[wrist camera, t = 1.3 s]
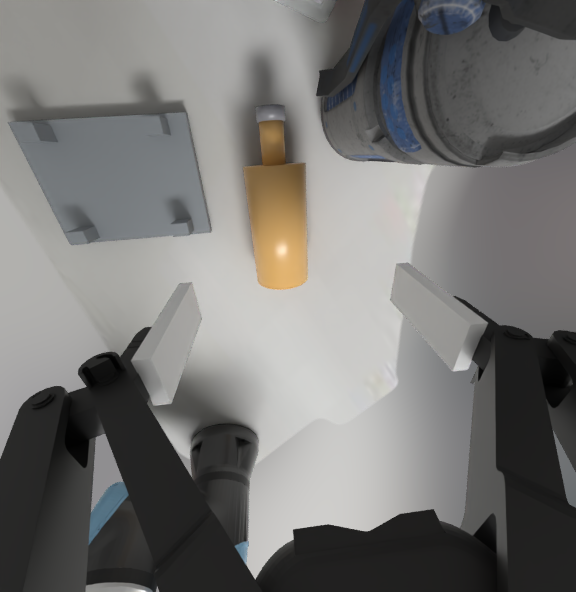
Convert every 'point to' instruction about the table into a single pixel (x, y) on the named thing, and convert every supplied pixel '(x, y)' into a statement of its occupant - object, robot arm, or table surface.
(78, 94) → the table surface
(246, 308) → the table surface
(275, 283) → the amber bottle
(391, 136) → the smoke grenade
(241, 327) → the table surface
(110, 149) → the u rest
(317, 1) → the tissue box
